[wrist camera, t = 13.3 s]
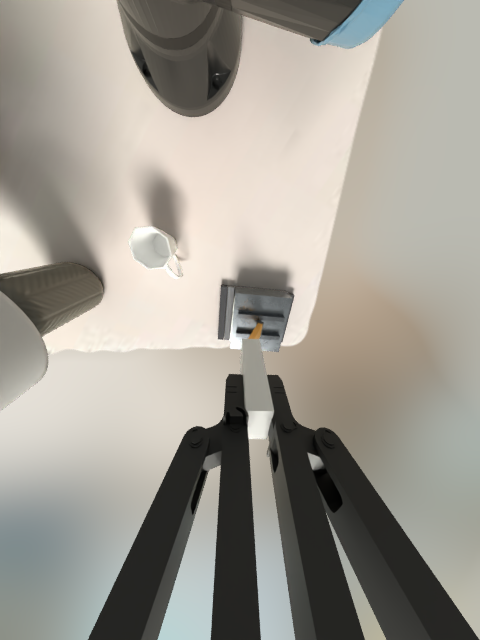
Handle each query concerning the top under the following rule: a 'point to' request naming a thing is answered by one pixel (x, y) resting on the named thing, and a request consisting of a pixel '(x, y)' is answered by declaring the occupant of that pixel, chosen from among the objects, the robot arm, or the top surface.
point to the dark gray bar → (288, 313)
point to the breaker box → (259, 316)
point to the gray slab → (223, 310)
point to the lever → (257, 331)
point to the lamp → (38, 318)
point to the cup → (154, 249)
